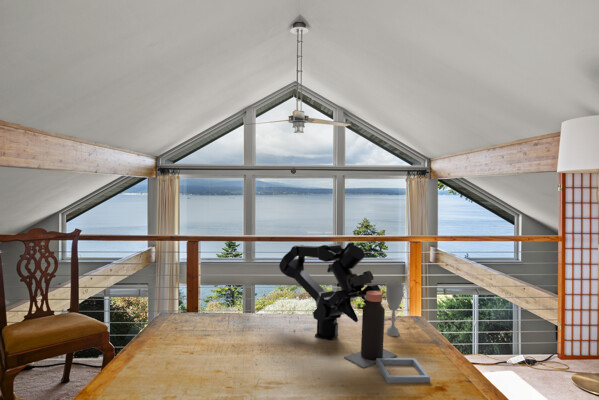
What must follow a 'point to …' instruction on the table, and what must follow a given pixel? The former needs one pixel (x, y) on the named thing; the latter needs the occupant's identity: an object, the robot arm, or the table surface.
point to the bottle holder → (402, 378)
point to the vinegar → (372, 326)
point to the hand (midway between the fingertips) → (367, 318)
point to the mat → (364, 362)
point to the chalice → (394, 303)
